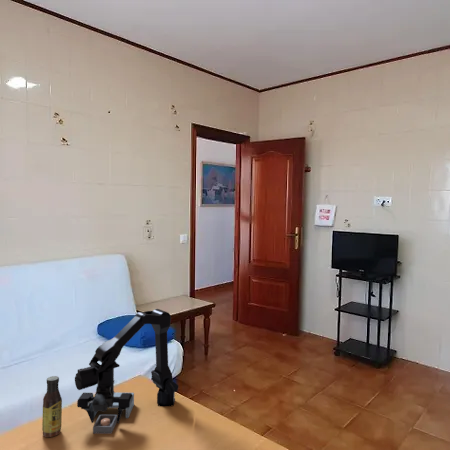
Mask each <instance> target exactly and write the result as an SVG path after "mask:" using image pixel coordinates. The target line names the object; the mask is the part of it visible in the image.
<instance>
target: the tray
mask: <svg viewBox="0 0 450 450" xmlns="http://www.w3.org/2000/svg"><path fill="white" fill-rule="evenodd" d="M117 416H118V414H99V415H98V417H97V419H96V421H95V422H94V424H93V425H92V426H93V427H92V434H96V435H97V434H106V435H108V434H113V432H114V430H115V427H116V425H117V424H118V423H117ZM104 418H109V419H110V426H101V420H102V419H104Z"/></svg>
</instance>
